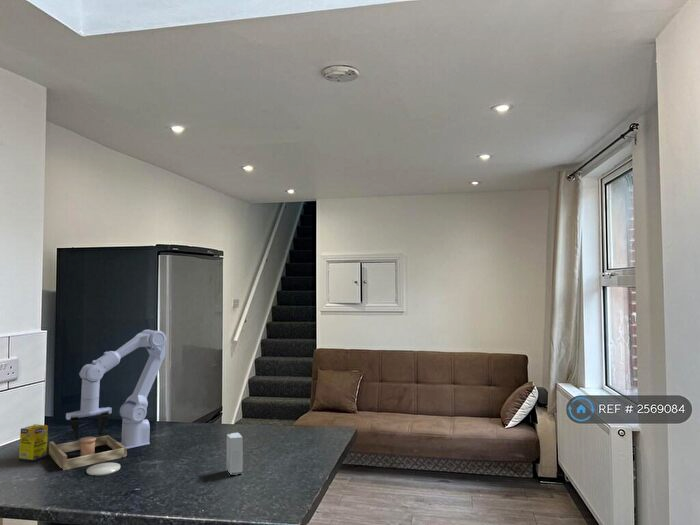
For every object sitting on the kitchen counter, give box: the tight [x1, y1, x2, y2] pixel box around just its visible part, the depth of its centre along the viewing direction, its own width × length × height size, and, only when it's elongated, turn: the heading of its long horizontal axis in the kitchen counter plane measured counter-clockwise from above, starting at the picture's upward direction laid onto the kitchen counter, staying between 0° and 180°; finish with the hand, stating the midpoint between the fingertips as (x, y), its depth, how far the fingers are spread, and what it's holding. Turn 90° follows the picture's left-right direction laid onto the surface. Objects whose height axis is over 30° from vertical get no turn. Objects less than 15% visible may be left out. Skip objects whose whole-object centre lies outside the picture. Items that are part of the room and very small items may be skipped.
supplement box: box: [18, 423, 49, 463], centre depth 170 cm, size 6×6×11 cm
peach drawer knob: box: [79, 436, 97, 457], centre depth 174 cm, size 5×5×6 cm
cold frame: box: [48, 434, 128, 471], centre depth 174 cm, size 20×20×4 cm
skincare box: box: [226, 432, 244, 474], centre depth 161 cm, size 6×4×12 cm
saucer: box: [86, 462, 121, 477], centre depth 161 cm, size 10×10×1 cm
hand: (88, 436), depth 174 cm, fingers open, 7 cm apart
